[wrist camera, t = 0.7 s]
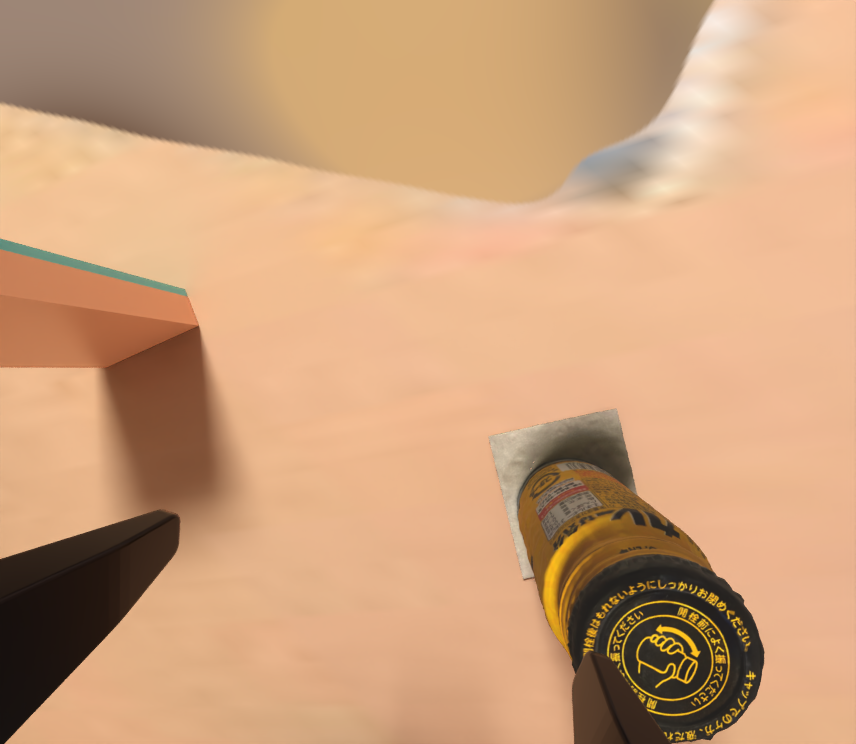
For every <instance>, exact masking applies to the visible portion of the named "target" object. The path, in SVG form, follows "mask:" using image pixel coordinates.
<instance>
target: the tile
mask: <svg viewBox="0 0 856 744" xmlns="http://www.w3.org/2000/svg"><path fill="white" fill-rule="evenodd" d="M197 326H199V325H198V322H197V319H196V317H195V314H194V312H193V309H192V307H191V304H190V301H189V299H188V296H187V294H186V291H185V289H182V288H178V287H174V286H171V285H167V284H163V283H160V282H156V281H153V280H149V279H145V278H142V277H138V276H134V275H131V274H127V273H123V272H120V271H116V270H113V269H109V268H105V267H102V266H98V265H94V264H91V263H87V262H83V261H80V260H76V259H72V258H69V257H65V256H62V255H58V254H54V253H51V252H47V251H43V250H40V249H36V248H32V247H29V246H25V245H22V244H18V243H14V242H11V241H7V240H3V239H0V367H48V368H107V367H109V366H111V365H113V364H115V363H118V362H120V361H122V360H124V359H126V358H129V357H131V356H133V355H135V354H137V353H140V352H142V351H144V350H146V349H149V348H151V347H153V346H155V345H157V344H160V343H162V342H164V341H166V340H168V339H171V338H173V337H175V336H177V335H179V334H182V333H184V332H186V331H188V330H190V329H193V328H195V327H197Z"/></svg>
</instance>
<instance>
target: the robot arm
mask: <svg viewBox="0 0 856 744" xmlns="http://www.w3.org/2000/svg"><path fill="white" fill-rule="evenodd" d="M179 533H180V517H179V515H177V514H176V513H172V512H169V511H166V510H157V511H153V512H150V513H147V514H144V515H140V516H137V517H134V518H131V519H128V520H124V521H121V522H118V523H115V524H112V525H108V526H105V527H102V528H99V529H96V530H92V531H89V532H86V533H83V534H80V535H76V536H73V537H70V538H67V539H63V540H60V541H57V542H54V543H51V544H47V545H44V546H41V547H38V548H35V549H31V550H28V551H25V552H22V553H18V554H15V555H12V556H9V557H6V558H2V559H0V744H4V743H5V742H6V741H7V740H8V739H9V738H10V737H11V736H12V735H13V734H14V733H15V732H16V731H17V730H18V729H19V728H20V727H21V726H22V725H23V724H24V722H25V721H26V720H27V719H28V718H29V717H30V716H31V715H32V714H33V713H34V712H35V711H36V710H37V709H38V708H39V707H40V706H41V705H42V704H43V703H44V701H45V700H46V699H47V698H48V697H49V696H50V695H51V694H52V693H53V692H54V691H55V690H56V689H57V688H58V687H59V686H60V685H61V684H62V683H63V682H64V681H65V679H66V678H67V677H68V676H69V675H70V674H71V673H72V672H73V671H74V670H75V669H76V668H77V667H78V666H79V665H80V664H81V663H82V662H83V661H84V660H85V658H86V657H87V656H88V655H89V654H90V653H91V652H92V651H93V650H94V649H95V648H96V647H97V646H98V645H99V644H100V643H101V642H102V641H103V640H104V639H105V637H106V636H107V635H108V634H109V633H110V632H111V631H112V630H113V629H114V628H115V627H116V626H117V625H118V624H119V622H120V621H121V620H122V619H123V618H124V617H125V615H126V614H127V613H128V612H129V611H130V609H131V608H132V607H133V606H134V604H135V603H136V602H137V601H138V600H139V598H140V597H141V596H142V595H143V593H144V592H145V591H146V590H147V588H148V587H149V586H150V585H151V583H152V582H153V581H154V580H155V578H156V577H157V576H158V575H159V574H160V572H161V571H162V570H163V569H164V567H165V566H166V565H167V564H168V562H169V561H170V560H171V559H172V557H173V556H174V555H175V553H176V551H177V549H178V545H179ZM572 703H573V725H574V744H671V742H670V741H669V740H668V738H667V737H666V735H665V734H664V733H663V731H662V730H661V728H660V727H659V725H658V724H657V723H656V721H655V720H654V718H653V717H652V716H651V714H650V713H649V711H648V710H647V709H646V707H645V706H644V704H643V703H642V701H641V700H640V699H639V697H638V696H637V694H636V693H635V692H634V690H633V689H632V687H631V686H630V685H629V683H628V682H627V680H626V679H625V677H624V676H623V675H622V673H621V672H620V670H619V669H618V668H617V666H616V665H615V663H614V662H613V661H612V659H611V658H609V657H608V656H606V655H603V654H600V653H597V652H594V651H588V652H586V654H585V655H584V657H583V660H582V662H581V664H580V666H579V669H578V671H577V673H576V675H575V677H574V680H573V685H572Z"/></svg>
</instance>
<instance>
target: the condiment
mask: <svg viewBox="0 0 856 744" xmlns="http://www.w3.org/2000/svg"><path fill="white" fill-rule="evenodd" d="M489 441H490V445H491V449H492V453H493V457H494V461H495V465H496V470H497V474H498V477H499V482H500V486H501V490H502V494H503V498H504V502H505V507H506V511H507V515H508V519H509V523H510V527H511V531H512V535H513V539H514V544H515V548H516V552H517V556H518V560H519V564H520V568H521V572H522V576H523V579H526V578H530V577H535V581H536V584H537V588H538V591H539V596H540V600H541V603H542V605H543V609H544V611H545V616H546V619H547V621H548V623H549V626H550V627H551V629H552V631H553V632H554V634H555V636H556V637H557V639H558V640H559V641H560V643H561V644H562V645H563V646H564V648H565V649H566V651H567V652H568V654H569V656H570V658H571V660H572V666H573V668H574V671H575V674H576V673H577V671H578V669H579V666H580V664H581V662H582V660H583V657H584V655H585V654H586V652H588V651H594V652H597V653H600V654H603V655H606V656H608V657H609V658H611V659H612V661H613V662H614V663H615V665H616V666H617V668H618V669H619V670H620V672H621V673H622V675H623V676H624V677H625V679H626V680H627V682H628V683H629V685H630V686H631V687H632V689H633V690H634V692H635V693H636V694H637V696H638V697H639V699H640V700H641V701H642V703H643V704H644V706H645V707H646V709H647V710H648V711H649V713H650V714H651V716H652V717H653V718H654V720H655V721H656V723H657V724H658V725H659V727H660V728H661V730H662V731H663V733H664V734H665V735H666V737H667V738H668V740H669V741H670V742H671V743H678V742H685V741H690V742H692V741H696V740H700V739H705V740H711V739H712V738H713V736H714V735H715V734H716V733H717V732H719V731H722V730H725V729H727V728H728V727H730V726H731V725H733V724H734V723H736V722H737V721H738V719H739V718H740V717H741V716H742V715H743V713H744V712H745V711H746V710H747V708H748V706H749V705H750V704H751V702H752V701H753V700H754V699H755V698H756V696H757V692H758V689H759V686H760V682H761V676H762V669H763V665H764V648H763V645H762V642H761V640H760V637H759V633H758V629H757V627H756V624H755V622H754V620H753V617H752V615H751V613H750V612H749V611H748V609H747V608H746V607H745V605H744V600H743V598H742V596H741V595H740V594H738V593H736V592H734V591H733V590H732V588H731V587H730V585H729V584H728V583H727V582H726V581H725V579H723V578H720V577H717V576H716V574H715V573H714V572H713V570H712V568H711V566H710V564H709V562H708V560H707V557H706V556H705V555H704V553H703V552H702V551H701V549H700V548H699V547H698V546H697V545H696V543H695V542H694V541H693V540H692V539H691V538H690V537H689V536H688V535H687V534H686V533H684V532H683V531H682V530H681V529H680V528H678V527H677V526H675V525H674V524H673V523H672V522H670V521H669V520H668V519H667V518H666V517H664V516H663V515H661V514H660V513H659V512H658V511H656V510H655V509H654V508H653V507H651V506H650V505H649V504H647V503H646V502H645V501H644V500H642V499H641V498H640V497H639V496H638V495H637V492H636V488H635V483H634V479H633V474H632V469H631V465H630V462H629V458H628V453H627V450H626V446H625V442H624V438H623V433H622V428H621V424H620V420H619V416H618V412H617V409H611V410H607V411H603V412H596V413H592V414H587V415H583V416H578V417H574V418H568V419H564V420H559V421H555V422H550V423H546V424H541V425H536V426H532V427H528V428H524V429H519V430H514V431H510V432H506V433H501V434H497V435H493V436H489ZM533 462H534V463H533ZM530 468H532V469H531V470H530Z"/></svg>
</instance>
